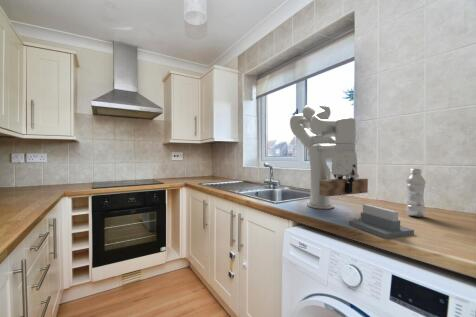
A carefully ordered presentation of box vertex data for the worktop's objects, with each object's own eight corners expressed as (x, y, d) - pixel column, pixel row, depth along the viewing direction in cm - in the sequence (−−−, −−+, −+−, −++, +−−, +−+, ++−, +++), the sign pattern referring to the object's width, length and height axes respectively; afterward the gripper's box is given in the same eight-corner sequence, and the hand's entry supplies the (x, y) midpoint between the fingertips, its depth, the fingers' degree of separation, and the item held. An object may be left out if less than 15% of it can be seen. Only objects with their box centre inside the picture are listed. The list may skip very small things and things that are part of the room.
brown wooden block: (326, 196, 89) (326, 181, 89) (319, 194, 93) (319, 180, 92) (367, 192, 96) (367, 178, 96) (359, 191, 100) (359, 177, 100)
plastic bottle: (425, 216, 95) (426, 168, 95) (425, 219, 90) (425, 169, 90) (406, 213, 99) (407, 168, 99) (405, 216, 94) (405, 169, 94)
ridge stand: (348, 224, 84) (348, 204, 84) (373, 221, 88) (373, 202, 88) (385, 238, 70) (385, 214, 70) (413, 234, 73) (413, 211, 73)
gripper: (324, 148, 101) (323, 188, 101) (353, 147, 85) (352, 196, 85) (337, 148, 103) (337, 187, 104) (369, 147, 87) (368, 194, 88)
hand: (344, 191), depth 95 cm, fingers closed on brown wooden block, 4 cm apart
